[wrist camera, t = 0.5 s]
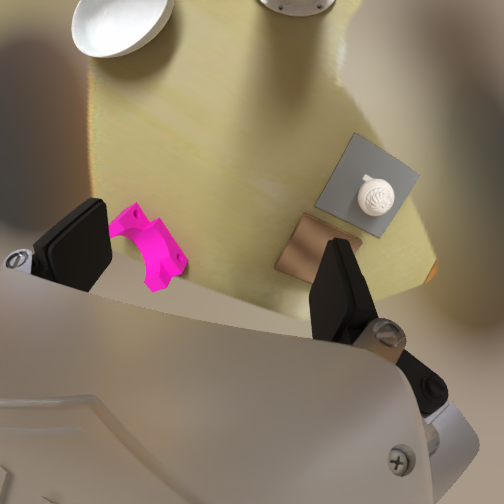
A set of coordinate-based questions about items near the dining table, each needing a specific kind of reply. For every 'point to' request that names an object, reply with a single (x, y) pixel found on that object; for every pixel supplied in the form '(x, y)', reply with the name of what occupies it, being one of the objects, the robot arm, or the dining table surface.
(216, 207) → the dining table surface
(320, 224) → the walnut pad
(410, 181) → the tile
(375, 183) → the muffin
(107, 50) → the cereal bowl
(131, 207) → the magenta cradle bracket
